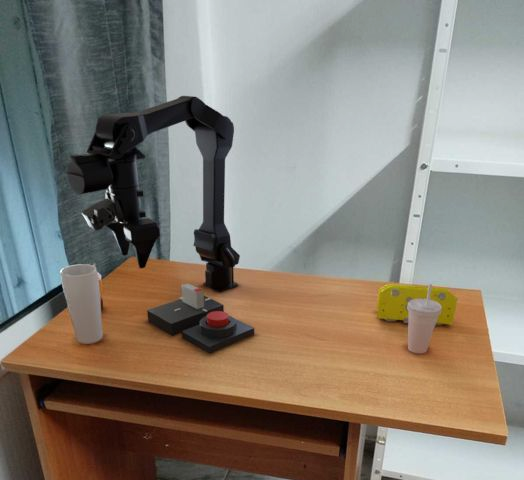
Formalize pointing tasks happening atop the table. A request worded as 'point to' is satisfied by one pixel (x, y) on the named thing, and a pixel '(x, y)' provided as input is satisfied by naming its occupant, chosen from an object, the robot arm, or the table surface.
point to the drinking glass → (83, 301)
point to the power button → (217, 319)
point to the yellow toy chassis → (398, 296)
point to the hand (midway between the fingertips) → (133, 261)
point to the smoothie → (421, 322)
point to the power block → (217, 335)
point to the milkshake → (100, 289)
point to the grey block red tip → (192, 296)
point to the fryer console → (180, 315)
